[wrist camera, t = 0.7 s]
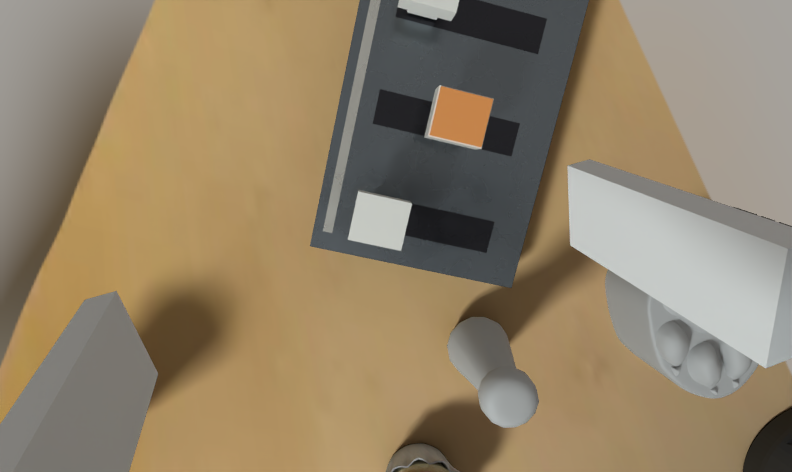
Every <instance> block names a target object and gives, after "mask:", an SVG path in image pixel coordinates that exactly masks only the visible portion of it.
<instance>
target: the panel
mask: <svg viewBox="0 0 792 472" xmlns="http://www.w3.org/2000/svg"><path fill="white" fill-rule="evenodd" d="M588 2H589V0H459V3H458V8H457V12H456V14H455V16H454V17H453V19H452V21H448V20H444V19H440V18H437V20H434V19H430V18H427V17H423V16H419V15H415V14H411V13H408V12H407V10H406V9H403V8H399V7H398V3H399V0H360V2H359V7H358V12H357V17H356V22H355V27H354V32H353V37H352V42H351V46H350V51H349V56H348V61H347V66H346V71H345V76H344V81H343V86H342V91H341V96H340V101H339V106H338V111H337V116H336V121H335V125H334V130H333V135H332V140H331V145H330V150H329V155H328V160H327V165H326V170H325V175H324V180H323V185H322V190H321V195H320V199H319V204H318V209H317V214H316V219H315V224H314V229H313V234H312V239H311V244H310V246H312V247H317V248H321V249H326V250H331V251H336V252H341V253H345V254H350V255H355V256H360V257H365V258H369V259H374V260H379V261H384V262H389V263H394V264H398V265H403V266H408V267H413V268H418V269H422V270H427V271H432V272H437V273H442V274H446V275H451V276H456V277H461V278H466V279H470V280H475V281H480V282H485V283H490V284H494V285H499V286H504V287H509V288H512V284H513V280H514V276H515V273H516V269H517V265H518V262H519V258H520V254H521V250H522V247H523V243H524V239H525V236H526V232H527V228H528V225H529V221H530V217H531V213H532V210H533V206H534V202H535V199H536V195H537V191H538V187H539V184H540V180H541V176H542V173H543V169H544V165H545V161H546V158H547V154H548V150H549V147H550V143H551V139H552V135H553V132H554V128H555V124H556V121H557V117H558V113H559V110H560V106H561V102H562V98H563V95H564V91H565V87H566V84H567V80H568V76H569V72H570V69H571V65H572V61H573V58H574V54H575V50H576V46H577V43H578V39H579V35H580V32H581V28H582V24H583V21H584V17H585V13H586V9H587V6H588ZM439 85H441V86H445V87H449V88H453V89H457V90H461V91H465V92H469V93H473V94H477V95H482V96H486V97H490V98H494V101H493V105H492V109H491V113H490V117H489V121H488V125H487V129H486V133H485V137H484V141H483V145H482V149H476V150H475V149H471V148H466V147H462V146H458V145H454V144H449V143H445V142H441V141H437V140H433V139H428V138H424V136H425V132H426V128H427V123H428V119H429V115H430V110H431V106H432V102H433V97H434V93H435V89H436V88H437V87H438V86H439ZM358 190H362V191H367V192H371V193H376V194H380V195H385V196H389V197H394V198H398V199H403V200H407V201H410V202H411V203H412V206H411V210H410V215H409V219H408V223H407V228H406V232H405V236H404V241H403V245H402V249H401V251H399V250H394V249H389V248H384V247H380V246H375V245H370V244H365V243H361V242H356V241H351V240H348V236H349V231H350V227H351V222H352V217H353V213H354V208H355V203H356V199H357V194H358Z"/></svg>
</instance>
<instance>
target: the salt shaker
mask: <svg viewBox="0 0 792 472" xmlns="http://www.w3.org/2000/svg"><path fill="white" fill-rule="evenodd" d="M447 348H448V353H449V358H450V361H451V362H452V364H453V365H454V366H455V367H456V368H457V370H458V371H459V372H460V373H461V374H462V375H463V376H464V377H465V378H466V379H467V380H468V381H469V382H470V383H472V384H473V386H474V387H475V388H476V389H477V390H478V397H479V403H480V407H481V410H482V411H483V412H484V413H485V415H486V416H487V417H488V418H489V419H490V420H491V422H492V423H494V424H496V425H499V426H501V427H503V428H507V427H517V426H519V425H522V424H524V423H526V422H528V420H529V419H530V418H531V417H532V416H533V415H534V414H535V412H536V409H537V406H538V402H539V400H538V394H537V389H536V387H535V385H534V383H533V382H532V381H531V379H530V378H529V377H528V375H527V374H526V373H525V372H523V371H521V370H519V369H516V366H515V362H514V359H513V355H512V351H511V348H510V344H509V341H508V337H507V334H506V333H505V331H504V330H503V328H502V327H501V326H500V324H499V323H497V322H495V321H493V320H490V319H488V318H486V317H470V318H468V319H466V320H464V321H462V322H460V323H459V324H458V325H457V326H456V327H455V328H454V329H453V331H452V332H451V333H450V337H449V341H448V345H447Z"/></svg>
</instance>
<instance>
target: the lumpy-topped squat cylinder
mask: <svg viewBox="0 0 792 472" xmlns="http://www.w3.org/2000/svg"><path fill="white" fill-rule="evenodd" d="M605 289H606V296H607V303H608V308H609V313H610V316H611V320H612V323H613V326H614V329H615V332H616V334H617V336H618V338H619V340H620V341H621V342H622V343H623V344H624V345H625V346H626V347H627V348H628V349H629V350H630V351H631V352H632V353H634V354H635V355H636V356H638V357H639V358H640V359H642V360H643V361H645V362H646V363H647V364H649V365H650V366H651V367H653V368H654V369H656V370H657V371H658V372H660V373H661V374H663V375H664V376H665V377H667V378H668V379H670V380H671V381H672V382H674V383H675V384H677V385H678V386H679V387H681V388H682V389H684V390H686V391H688V392H690V393H692V394H695V395H698V396H702V397H706V398H722V397H725V396H727V395H730V394H732V393H733V392H735V391H736V390H738V389H739V388H740V387H741V386H742V385H743V384H744V383H745V382H746V381H747V380H748V379H749V378H750V376H751V375H752V374H753V372H754V371H755V369H756V368H757V366H758V363H756V362H755V361H753V360H752V359H750V358H748V357H747V356H745V355H744V354H742V353H740V352H739V351H737V350H736V349H734V348H733V347H731V346H729V345H728V344H726V343H725V342H723V341H721V340H720V339H718V338H717V337H715V336H713V335H712V334H710V333H709V332H707V331H705V330H704V329H702V328H701V327H699V326H698V325H696V324H694V323H693V322H691V321H690V320H688V319H686V318H685V317H683V316H682V315H680V314H678V313H677V312H675V311H674V310H672V309H671V308H669V307H667V306H666V305H664V304H663V303H661V302H659V301H658V300H656V299H655V298H653V297H651V296H650V295H648V294H647V293H645V292H643V291H642V290H640V289H639V288H637V287H636V286H634V285H632V284H631V283H629V282H628V281H626V280H624V279H623V278H621V277H620V276H618V275H616V274H615V273H613V272H612V271H610V270H609V269H608V271H607V274H606V279H605Z"/></svg>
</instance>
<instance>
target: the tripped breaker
mask: <svg viewBox="0 0 792 472" xmlns="http://www.w3.org/2000/svg"><path fill="white" fill-rule="evenodd" d="M493 101H494V98H490V97H486V96H482V95H477V94H473V93H469V92H465V91H461V90H457V89H453V88H449V87H445V86H441V85H439V86H438V87H437V88H436V89H435V93H434V97H433V102H432V106H431V110H430V115H429V119H428V123H427V128H426V132H425V136H424V138H428V139H433V140H437V141H441V142H445V143H449V144H454V145H458V146H462V147H466V148H471V149H475V150H476V149H482V145H483V141H484V137H485V133H486V129H487V125H488V121H489V117H490V113H491V109H492V105H493Z"/></svg>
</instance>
